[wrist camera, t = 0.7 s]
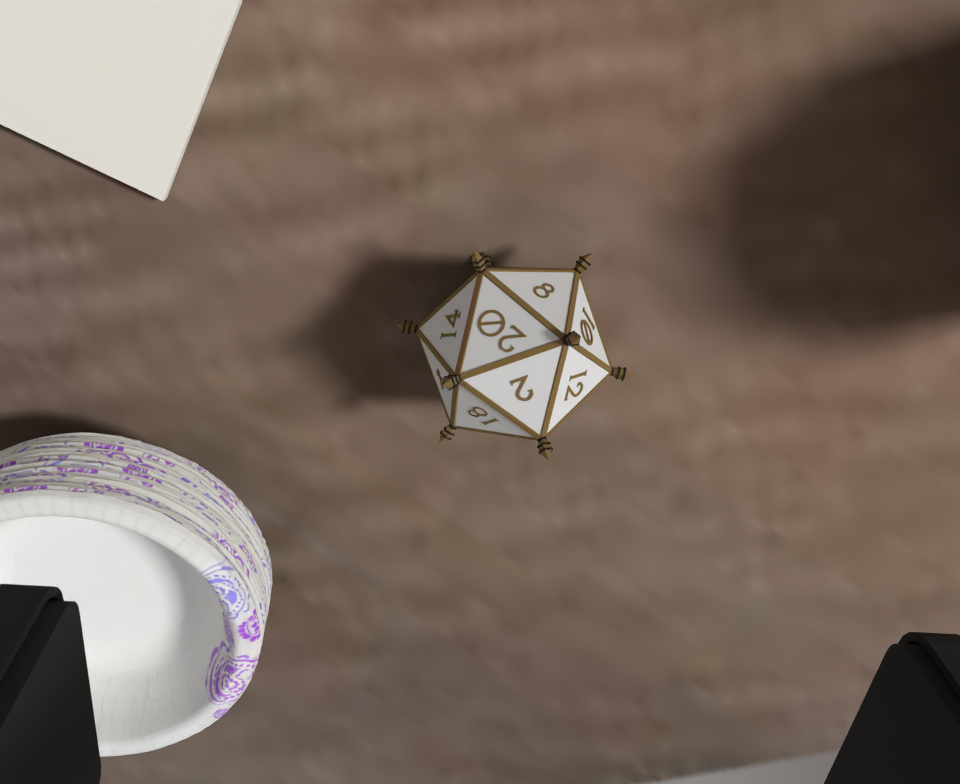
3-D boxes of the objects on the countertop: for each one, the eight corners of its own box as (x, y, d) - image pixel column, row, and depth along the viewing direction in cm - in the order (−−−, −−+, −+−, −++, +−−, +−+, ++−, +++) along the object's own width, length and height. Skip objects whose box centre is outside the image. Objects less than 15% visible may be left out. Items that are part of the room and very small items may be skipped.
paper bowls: (328, 599, 45) (310, 719, 38) (69, 667, 47) (6, 795, 40) (207, 357, 38) (158, 451, 31) (-94, 445, 40) (-206, 554, 33)
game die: (459, 292, 41) (317, 345, 34) (579, 183, 36) (443, 215, 28) (562, 443, 41) (441, 532, 33) (700, 355, 35) (594, 436, 28)
